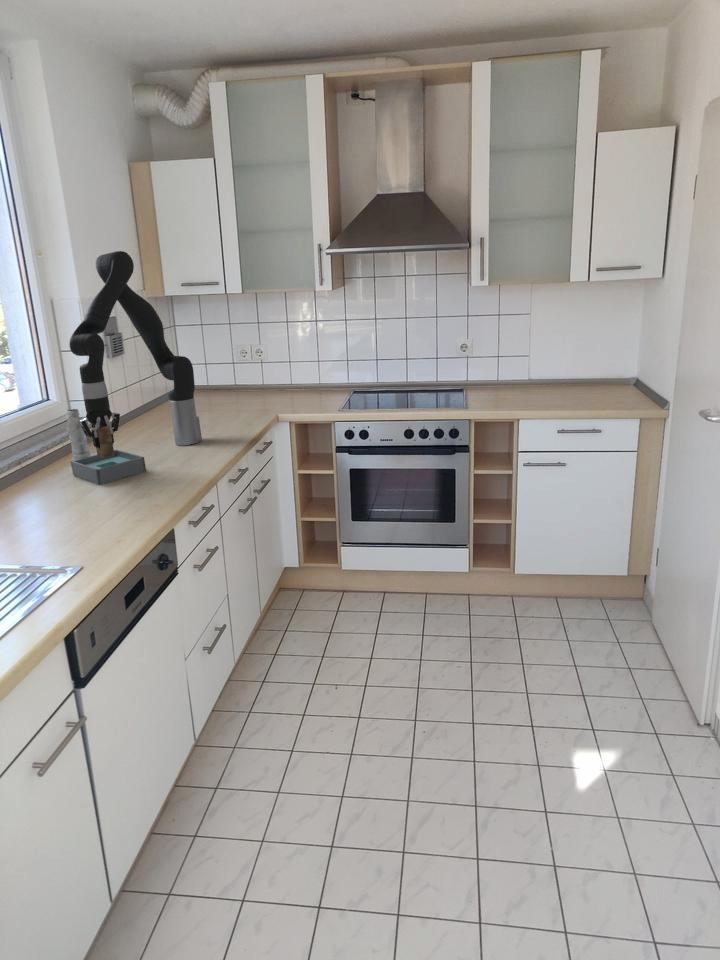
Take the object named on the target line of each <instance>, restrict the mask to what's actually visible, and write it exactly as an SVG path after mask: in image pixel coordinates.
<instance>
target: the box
mask: <svg viewBox="0 0 720 960" xmlns="http://www.w3.org/2000/svg"><path fill="white" fill-rule="evenodd" d="M145 461H146V460H145V456H142V455H139V454H138V455H137V454H135V453H131V452H127V451H125V450H124V451H123V450H120V449H114V455H113V456H109V457H105V458H102V457H99V456H98V455H97V454H94V455H91V456H90V457H86V458H82V459H79V460H75V461H72V460H71V461H70V465H71V469H72V476H73V475H74V476H73V477H76V478H78V477H79V479H81V480H84V481H87V482H90V483H92V482H93V484H95V483H96V484H95V485H98V484H99V485H98V486H101V485H103V483H104V484H108V483H111V482H113V481H114V480H115V481H117V479H118V480H121V479H120V478H122V479H125V478H128V477H131V476H130V475H132V476H134V474H135V475H139V474H142V473H145V472H144V471H146V472H147V467H146V462H145ZM141 472H142V473H141ZM138 473H139V474H138ZM127 476H128V477H127ZM124 477H125V478H124ZM110 481H111V482H110ZM115 481H114V482H115ZM107 482H108V483H107ZM100 484H101V485H100Z"/></svg>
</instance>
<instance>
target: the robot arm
mask: <svg viewBox="0 0 720 960" xmlns="http://www.w3.org/2000/svg"><path fill="white" fill-rule="evenodd" d="M134 267H135V266H134V261H133V259H132V257H131V255H130V254H128V253H127V252H126V251H123V250H117V251H113V252H108V253H105V254H104V253H103V254H101V255H99V256H98V257H97V258H96V259H95V269H96V271H97V274H98V276H99V277H100V279H101V280H102V281H103V283H104V285H103V286H102V288H101V289H100V290H99V291H98V292H97V293H96V295H95V296H94V297H93V298H92V300H91V302H90V303H89V304H88V307H87V310H86V312H85V315H84V318H83V320H82V321H81V322H80V323H79V325H78V326H77V327H76V328H75V330H74V331H73V333H72V334H71V336H70V339H69V345H68V346H69V350H70V351H71V353H72V354H73V355H75V356H77V357H88V361H87V362H86V363H83V364H81V365H80V366H79V376H80V381H81V389H82V390H81V391H82V396H83V401H84V407H85V412H86V415H85V418H82V420H79V424H80V426H81V428H82V429H83V431H84V433H85V435H86V437H89V438H92V443H93V444H92V445H93V446H94V448H95V449H96V448H100V443H99V437H98V428H99V427H100V426H105V425H107V426H110V431H111V437H112V443H113V444H114V443H115V440H114V439H115V438H114V433H115V432H118V430H119V424H120V418H121V414H120V413H118V412H112V411H111V406H110V399H109V394H108V389H107V384H106V382H105V381H106V380H105V376H104V375H105V374H104V369H103V367H104V359H105V358H104V357H105V342H104V340H103V338H102V337H101V335H99V334H102V333H104V331H106V328H107V325H108V323H109V320H110V317H111V314H112V312H113V309H114V308H115V307H114V306H116V303H117V302H118V303H119V305H120V306H121V307H122V309H123V310H124V313H126V315H127V316H128V319H129V320H130V322H131V323H132V325H133V327H134V328H135V330H136V332H137V333H138V335H140V337H141V339H142V341H143V342H144V344H145V346H146V347H147V349H148V350H149V351H150V354H151V356H152V358H153V360H154V362H155V364H156V366H157V368H158V370H159V372H160V373H161V375H162V376H163V378H165V379H166V380H169V381H173V389H172V390H171V391H169V392H168V396H167V397H168V402H169V407H170V408H169V410H170V416H171V421H172V429H173V436H174V442H175V445H177V446H191V445H190V444H192V445H195V443H196V444H198V443H200V442H202V441H203V437H202V430H201V423H200V417H199V416H197V410H196V409H197V408H196V403H195V401H196V400H195V394H194V393H195V389H196V388H195V387H196V386H195V384H196V383H195V374H194V367H193V363H192V361H191V360H190V358H188V357H186V356H183V355H175V354H174V353H173V352H172V351H171V349H170V348H169V346H168V344H167V342H166V340H165V332H164V331H165V330H164V324H163V322H162V320H161V317H159V314H158V313H157V311H156V310H155V308H154V307H153V305H152V304H151V303H150V302H149V301H147V300H146V299H145V298H144V297H142V296H141V295H139V294H138V293H137V292H135V291H134V290H133V289H132V288H131V287H130V286H129V285H128V283H129V281H130V279H131V277H132V275H133V273H134V269H135V268H134ZM111 419H112V420H111ZM110 420H111V422H110ZM89 424H90V427H89V426H88V425H89ZM94 427H95V428H94ZM199 441H200V442H199Z"/></svg>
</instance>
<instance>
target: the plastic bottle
mask: <svg viewBox="0 0 720 960" xmlns="http://www.w3.org/2000/svg"><path fill="white" fill-rule="evenodd" d="M79 412H80V411H79V409H78V408H72V409H68V410H67V417H68V419H67V420H66V424H65V429H66V431H67V435H68V436H69V441H70V445H71V461H75V460H79V459H82V458H86V457H90V456H92V454H91V451H90V448H89V446H88V445H89V444H88V441H87V440H88V439H87V436H86V435H85V433H84V431H83V429H82V428H81V426H80V424H79V420H83V418H82V417H80V413H79Z"/></svg>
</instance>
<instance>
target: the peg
mask: <svg viewBox="0 0 720 960" xmlns="http://www.w3.org/2000/svg"><path fill="white" fill-rule="evenodd" d="M94 428H95V427H94ZM98 437H99V443H100V448H96V447H95V450H96V455H98V456H99V457H102V458H105V457H109V456H113V455H114V450H115V449H114V443H112V437H111V431H110V426H107V425H105V426H100V427H99V428H98Z"/></svg>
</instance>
